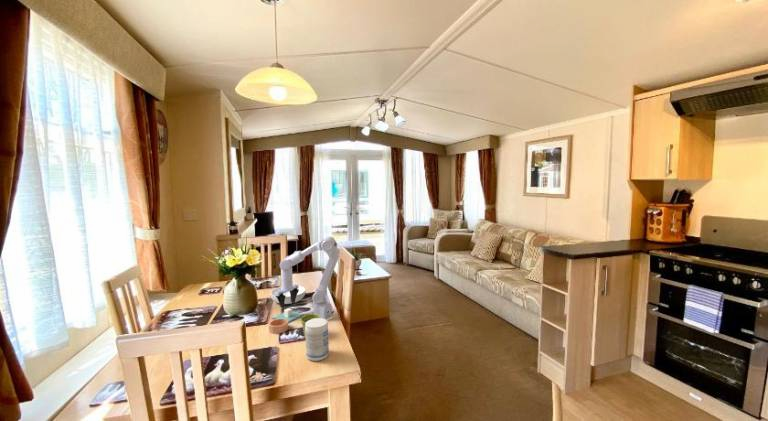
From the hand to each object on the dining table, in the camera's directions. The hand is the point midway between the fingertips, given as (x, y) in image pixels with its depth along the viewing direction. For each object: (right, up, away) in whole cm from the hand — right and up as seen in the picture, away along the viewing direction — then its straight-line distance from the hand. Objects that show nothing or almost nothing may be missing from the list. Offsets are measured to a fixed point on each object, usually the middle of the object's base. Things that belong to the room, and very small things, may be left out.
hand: (287, 304), depth 174 cm
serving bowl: (-7, -5, +24) cm, 26 cm away
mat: (0, -7, +1) cm, 7 cm away
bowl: (0, -9, -14) cm, 16 cm away
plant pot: (+17, -9, -20) cm, 28 cm away
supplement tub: (+24, -11, -37) cm, 46 cm away
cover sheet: (0, -7, +1) cm, 7 cm away
